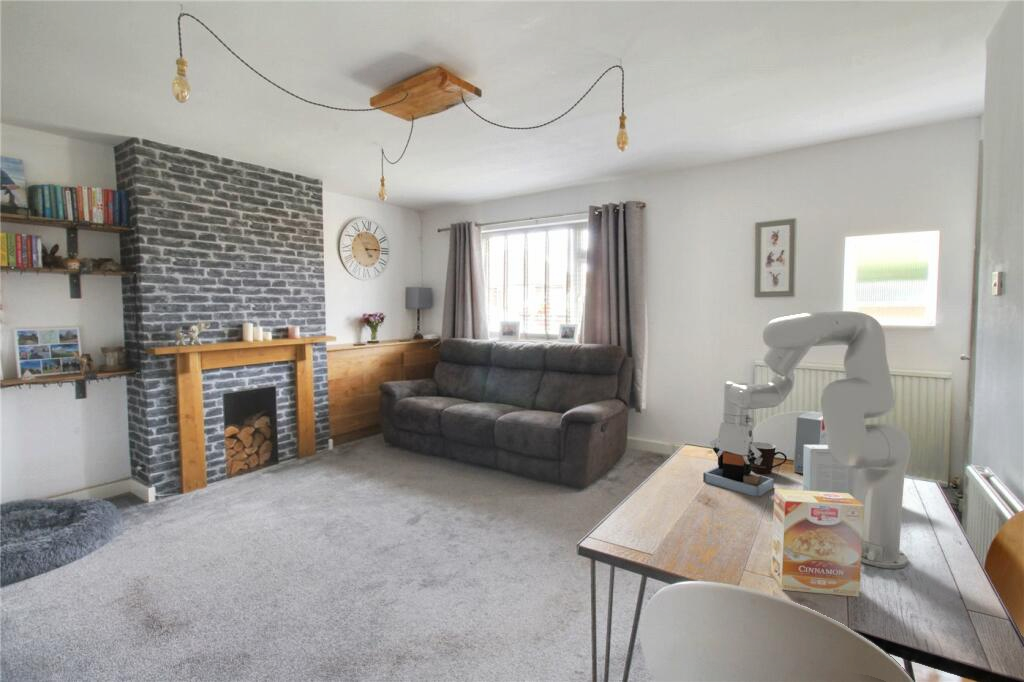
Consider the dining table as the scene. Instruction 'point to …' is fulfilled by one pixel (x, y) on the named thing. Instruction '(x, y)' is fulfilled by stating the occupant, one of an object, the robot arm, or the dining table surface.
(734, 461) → the battery
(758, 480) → the walnut block
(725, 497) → the dining table surface
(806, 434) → the hard drive box
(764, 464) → the coffee mug
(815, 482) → the skincare box
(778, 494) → the coffeecake box
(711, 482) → the bin
